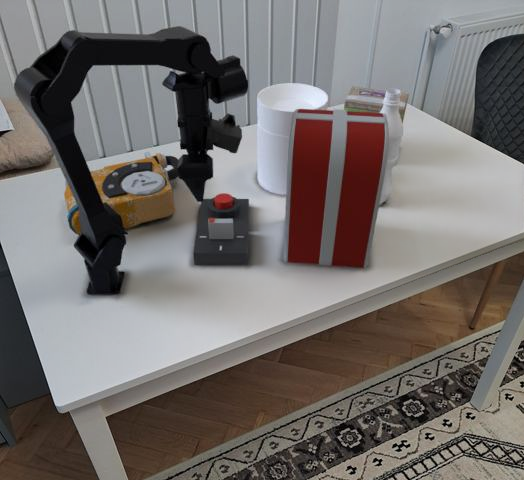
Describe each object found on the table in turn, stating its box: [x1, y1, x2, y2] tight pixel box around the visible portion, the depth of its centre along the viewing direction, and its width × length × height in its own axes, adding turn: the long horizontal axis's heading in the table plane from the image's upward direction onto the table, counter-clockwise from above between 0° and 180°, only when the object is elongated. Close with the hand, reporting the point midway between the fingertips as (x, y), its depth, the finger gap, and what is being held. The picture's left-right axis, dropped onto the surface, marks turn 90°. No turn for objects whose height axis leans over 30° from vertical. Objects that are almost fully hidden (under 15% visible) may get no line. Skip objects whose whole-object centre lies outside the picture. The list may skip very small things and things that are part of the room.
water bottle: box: [379, 87, 404, 206], centre depth 116 cm, size 7×7×25 cm
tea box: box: [343, 86, 410, 124], centre depth 136 cm, size 15×10×15 cm
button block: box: [197, 196, 250, 232], centre depth 118 cm, size 10×11×4 cm
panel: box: [192, 222, 249, 266], centre depth 111 cm, size 11×11×3 cm
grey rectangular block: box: [208, 218, 234, 239], centre depth 108 cm, size 5×2×4 cm, turn 90°
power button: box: [214, 192, 234, 209], centre depth 116 cm, size 4×4×2 cm
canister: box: [256, 82, 329, 196], centre depth 125 cm, size 16×16×20 cm
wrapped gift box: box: [283, 108, 389, 269], centre depth 104 cm, size 16×18×27 cm
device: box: [63, 151, 179, 236], centre depth 121 cm, size 23×8×30 cm
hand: (201, 189), depth 105 cm, fingers open, 9 cm apart
